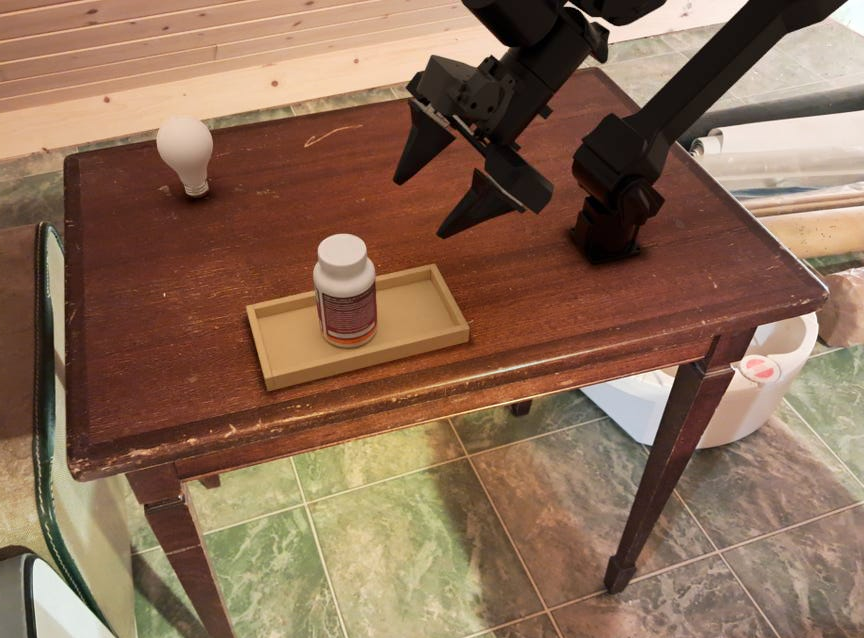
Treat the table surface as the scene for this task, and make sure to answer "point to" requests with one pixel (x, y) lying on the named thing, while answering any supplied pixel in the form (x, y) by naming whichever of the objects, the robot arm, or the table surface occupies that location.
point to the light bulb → (187, 151)
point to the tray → (394, 339)
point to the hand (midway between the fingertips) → (416, 209)
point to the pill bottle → (345, 291)
